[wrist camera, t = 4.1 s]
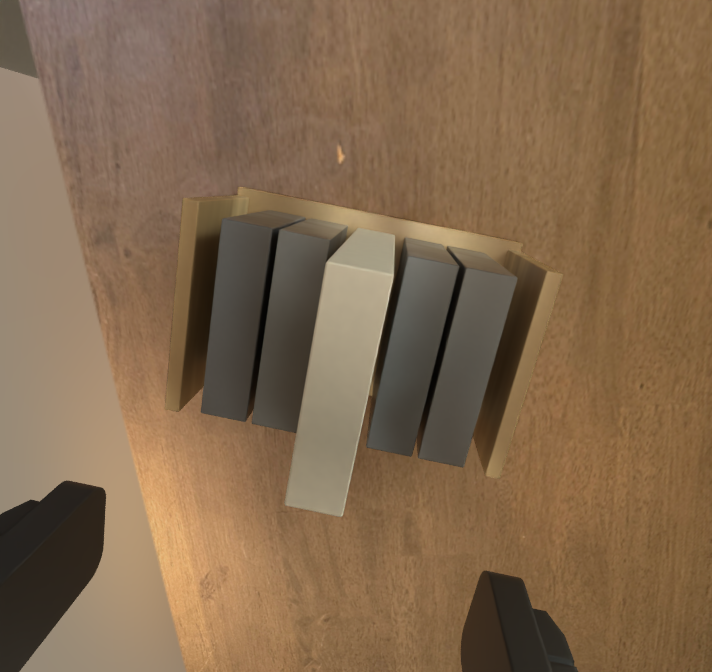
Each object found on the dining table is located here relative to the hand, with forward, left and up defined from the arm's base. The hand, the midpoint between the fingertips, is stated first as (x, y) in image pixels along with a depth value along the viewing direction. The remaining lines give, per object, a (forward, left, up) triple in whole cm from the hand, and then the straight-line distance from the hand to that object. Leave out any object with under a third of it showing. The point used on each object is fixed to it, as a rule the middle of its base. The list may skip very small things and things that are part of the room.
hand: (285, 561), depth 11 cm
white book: (0, 0, -24) cm, 24 cm away
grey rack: (0, 0, -25) cm, 25 cm away
